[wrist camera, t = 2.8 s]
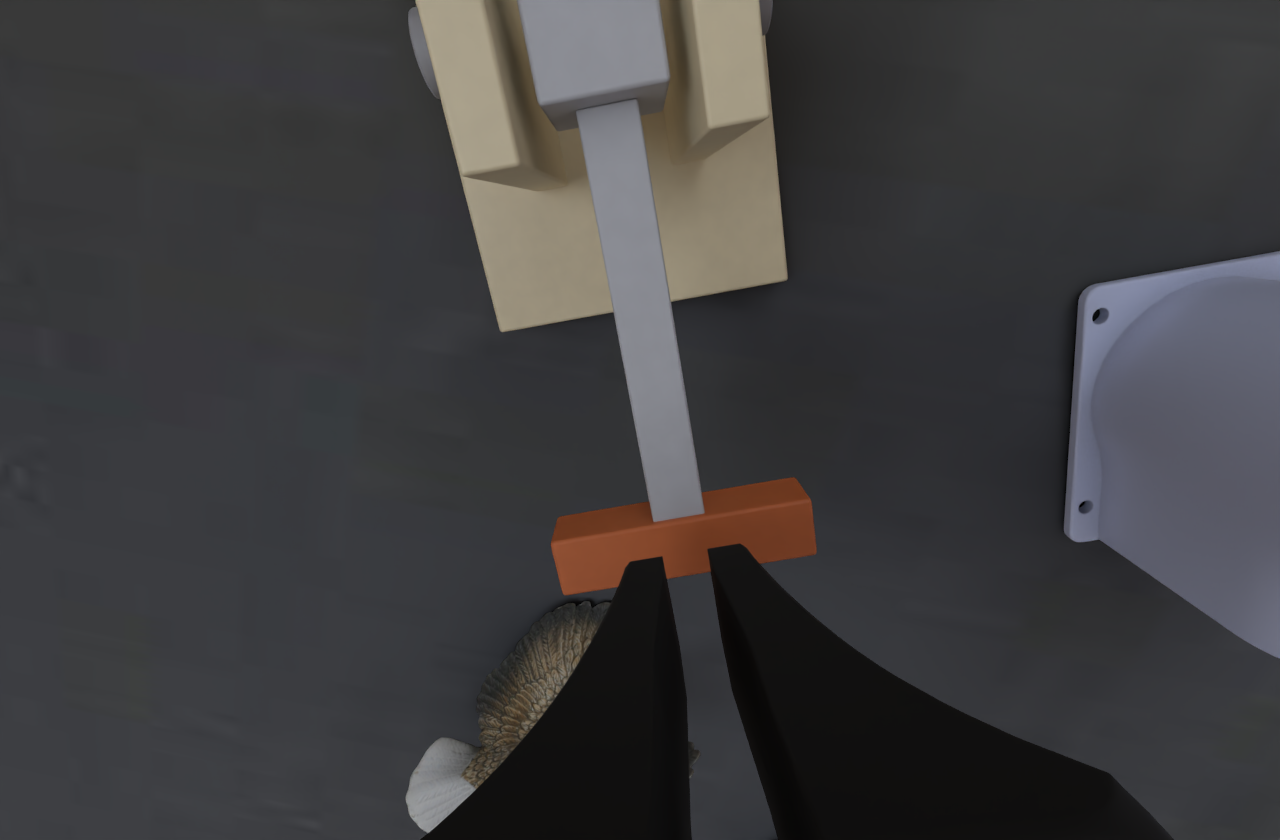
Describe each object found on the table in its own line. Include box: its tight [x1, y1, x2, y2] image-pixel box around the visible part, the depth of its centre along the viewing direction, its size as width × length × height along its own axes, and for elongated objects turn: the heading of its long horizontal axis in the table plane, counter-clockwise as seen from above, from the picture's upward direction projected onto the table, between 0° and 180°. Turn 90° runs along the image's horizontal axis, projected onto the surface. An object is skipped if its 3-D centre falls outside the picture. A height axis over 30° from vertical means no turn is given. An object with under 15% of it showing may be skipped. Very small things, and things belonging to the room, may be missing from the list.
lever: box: [517, 0, 817, 595], centre depth 12 cm, size 12×6×2 cm, turn 10°
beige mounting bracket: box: [408, 0, 788, 332], centre depth 13 cm, size 12×9×9 cm
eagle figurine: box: [405, 601, 701, 833], centre depth 22 cm, size 8×7×9 cm
